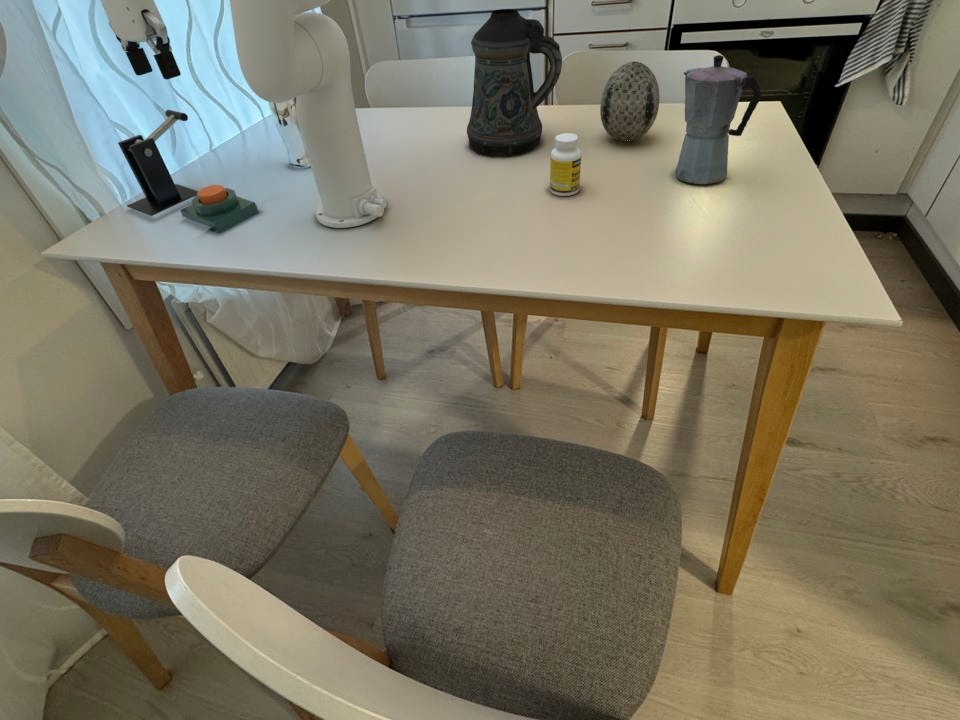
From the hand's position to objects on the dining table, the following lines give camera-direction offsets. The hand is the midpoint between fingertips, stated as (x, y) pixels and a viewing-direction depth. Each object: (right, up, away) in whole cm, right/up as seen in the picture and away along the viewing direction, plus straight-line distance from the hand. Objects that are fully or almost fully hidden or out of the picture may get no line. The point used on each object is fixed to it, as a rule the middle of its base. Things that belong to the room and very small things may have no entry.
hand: (158, 75), depth 102 cm
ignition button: (+10, -23, +1) cm, 25 cm away
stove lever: (-2, -10, +5) cm, 11 cm away
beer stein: (+67, -5, +20) cm, 70 cm away
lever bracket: (-4, -21, +9) cm, 23 cm away
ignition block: (+10, -25, +3) cm, 28 cm away
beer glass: (+21, -9, +20) cm, 30 cm away
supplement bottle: (+75, -21, 0) cm, 78 cm away
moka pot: (+101, -19, 0) cm, 103 cm away
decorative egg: (+91, -6, +16) cm, 92 cm away
